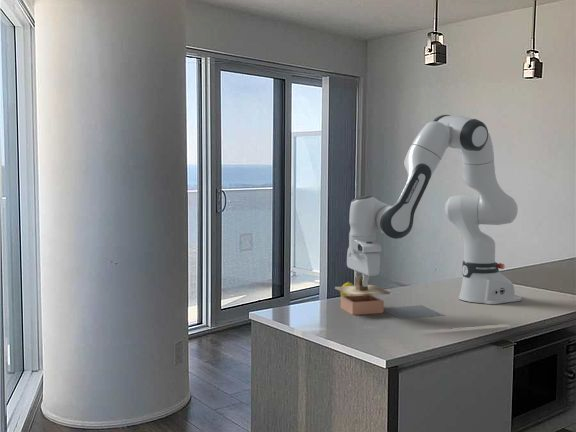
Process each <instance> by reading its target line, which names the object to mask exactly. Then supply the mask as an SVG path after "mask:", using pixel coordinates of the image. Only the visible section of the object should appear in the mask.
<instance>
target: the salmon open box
mask: <svg viewBox="0 0 576 432" xmlns="http://www.w3.org/2000/svg"><path fill="white" fill-rule="evenodd" d="M384 304H385V303H384V300H383V299H381V298H379V297H377V296H376V295H366V296H341V295H340V309H342V310H344V311H345V312H347V313H348V314H349V315H352V316H357V315H369V314H371V315H372V314H383V313H384V310H383V309H384V308H385V307H384Z"/></svg>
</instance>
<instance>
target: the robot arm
mask: <svg viewBox="0 0 576 432" xmlns="http://www.w3.org/2000/svg"><path fill="white" fill-rule="evenodd" d="M491 137H492V136H491V134H490V133H489V129H488V127H487V125H486V124H485V123H484V122H483V121H481V120H479V119H477V118H471V117H467V116H464V115H450V114H441V115H438V116H436V117H435V118H434V119H433V120H432V121H429V122H427V123H426V124H425V125H424V126H423V127H422V129H421V130H420V131H419V132H418V134H417V135H416V137H415V138H414V139H413V141H412V143H411V145H410V147H409V148H408V149H407V150H408V151H407V152H406V154H405V158H404V161H403V164H404V165H403V166H404V169H405V170H406V173H407V180H406V184H405V185H404V187H403V189H402V191H401V193H400V195H399V198H398V199H397V200H396V202H395V203H394V204H393V205H390V204H387V203H384V202H383V201H380V200H379V199H377V198H375V197H374V195H362V196H358V197H355V198H353V199H352V200H351V202H350V207H349V215H348V217H349V220H348V222H349V226H350V227H349V228H350V229H349V233H348V241H349V242H348V247H347V252H346V253H347V254H346V266H347V268H348V269H351V270H353V271H354V275H355V278H356V277H363V280H362V281H361V283H362V284H361V285H362V286H363V287H367V286H368V285H369V280H370V277H375V276H379V273H380V269H381V255H380V253H381V252H382V246H381V244H380V243H379V242H378V241H377V239H376V237H377V233H382V234H384V235H386V236H388V237H390V238H391V239H396V240H397V239H402V238H404V237H406V236H407V235H408V234H409V233H410V232H411V231H412V228H413V225H414V217H415V213H416V211H417V208H418V206H419V204H420V202H421V200H422V197H423V195H424V193H425V191H426V189H427V187H428V184H429V182H430V180H431V179H432V176H433V174H434V173H435V171H436V169H437V168H438V166H439V164H440V163H441V160H442V159H443V157H444V155H445V152H446V150H447V149H448V148H452V149H458V150H461V168H462V170H461V171H462V179H463V180H462V181H464V183H465V185H466V186H467V187H469V188H471V189H473V190H475V191H477V192H478V194H474V193H473V194H470V193H469V194H467V193H466V194H457V195H452V196H450V197H449V198H448V199H447V200H446V201H445V205H444V213H445V217H446V218H447V219H448V220H449V222H450V223H452V224H454V226H455V227H456V228H457V229H458V231H459V233H460V235H461V237H462V238H461V239H462V244H463V261H462V269H461V270H462V271H461V274H462V281H461V288H460V292H459V296H458V299H459V300H461V301H465V302H469V303H478V304H486V305H487V304H488V305H498V304H504V303H513V302H520V301H522V297H521V296H519V295H517V294H516V293H515V286H514V283H513V282H512V281H511V280H510V279H508V277H506V276H505V275H503V273H501V272H500V270H504V269H505V267H506V266H505V264H504V263H500V262H496V242H495V240H494V239H493V237H491V236H490V235H488V234H486V233H485V232H483V231H481V229H480V226H479V225H489V226H491V225H492V226H493V225H494V226H500V225H501V226H502V225H507V224H511V223H513V222H514V221H515V219H516V217H517V215H518V212H519V210H518V205H517V202H516V200H515V199H514V198H513V197H512V196H510V195H509V194H507V193H506V192H505V191H504V190H503V189H502V187H501V186H500V184H499V183H498V180H497V177H496V176H497V175H496V168H495V154H494V153H495V152H494V145H493V141H492V138H491Z"/></svg>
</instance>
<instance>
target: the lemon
mask: <svg viewBox="0 0 576 432" xmlns="http://www.w3.org/2000/svg"><path fill="white" fill-rule="evenodd" d="M343 286H355V285H354V284H353V283H351V282H350V281H347V282H345V283H344V284H342V286H341V287H343ZM341 296H348V295H346V294H344V293H343V292H341V291H340V297H341Z"/></svg>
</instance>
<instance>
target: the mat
mask: <svg viewBox="0 0 576 432" xmlns="http://www.w3.org/2000/svg"><path fill="white" fill-rule="evenodd" d="M383 312H386V313H388V314H390V315H391V316H394V317H396V318H398V319H399V320H406V319H421V318H431V317H432V318H433V317H434V318H435V317H444V316H445V317H446V315H445V314H442V313H441V312H439V311H435V310H433V309H431V308H429V307H426V306H424V305H421V304H419V305H405V306H391V307H390V306H388V307H384V309H383Z"/></svg>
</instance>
